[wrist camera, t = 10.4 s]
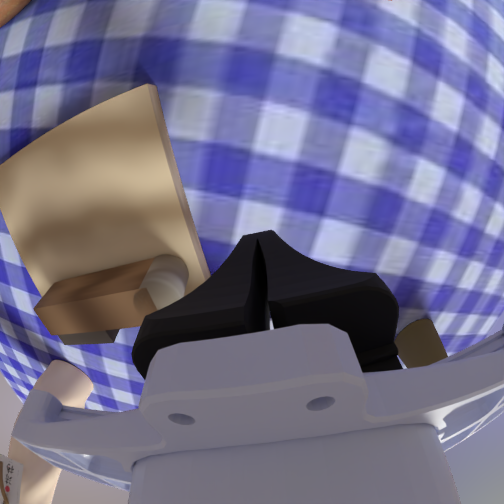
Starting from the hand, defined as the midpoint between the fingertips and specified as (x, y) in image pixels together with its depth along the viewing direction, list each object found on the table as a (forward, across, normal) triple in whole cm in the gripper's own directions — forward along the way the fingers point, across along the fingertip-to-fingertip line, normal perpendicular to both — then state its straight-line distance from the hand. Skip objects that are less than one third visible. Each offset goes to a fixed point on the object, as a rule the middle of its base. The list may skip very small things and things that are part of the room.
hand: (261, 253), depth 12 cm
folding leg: (+7, +13, +4) cm, 15 cm away
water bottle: (+10, +32, +19) cm, 38 cm away
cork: (+10, -16, +21) cm, 28 cm away
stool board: (+9, +14, -1) cm, 17 cm away
